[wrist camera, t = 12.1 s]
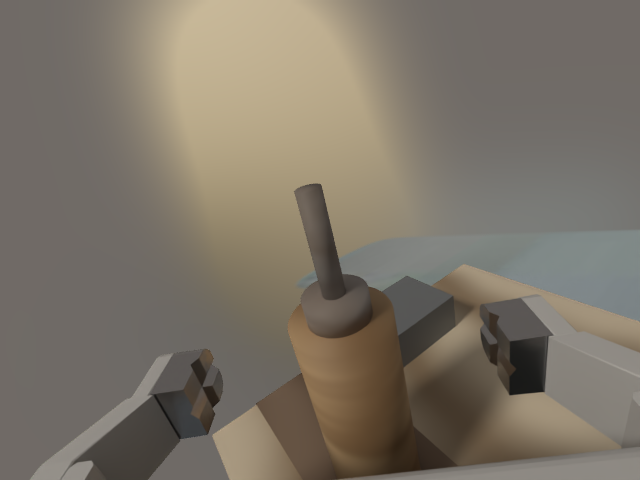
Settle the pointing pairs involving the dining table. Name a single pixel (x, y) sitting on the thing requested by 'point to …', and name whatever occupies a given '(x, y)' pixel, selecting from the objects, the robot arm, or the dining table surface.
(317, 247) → the awl
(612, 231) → the dining table surface
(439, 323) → the block
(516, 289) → the subfloor panel
